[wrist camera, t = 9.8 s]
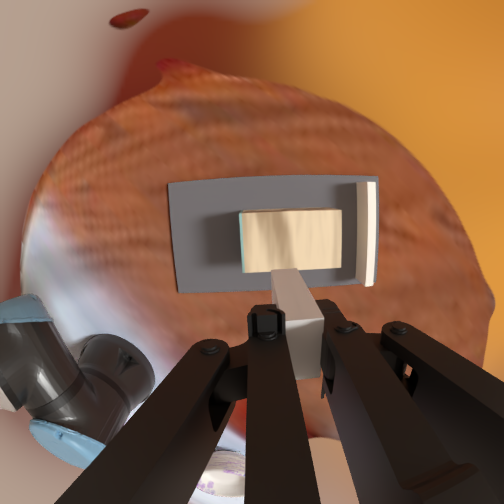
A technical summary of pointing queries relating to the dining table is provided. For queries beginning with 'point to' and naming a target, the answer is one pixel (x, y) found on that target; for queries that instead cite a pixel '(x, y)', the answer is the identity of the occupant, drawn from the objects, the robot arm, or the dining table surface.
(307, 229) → the beech block
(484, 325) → the dining table surface
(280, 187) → the gray ramp
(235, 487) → the paper bowls
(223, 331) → the dining table surface
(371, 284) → the stop rail
